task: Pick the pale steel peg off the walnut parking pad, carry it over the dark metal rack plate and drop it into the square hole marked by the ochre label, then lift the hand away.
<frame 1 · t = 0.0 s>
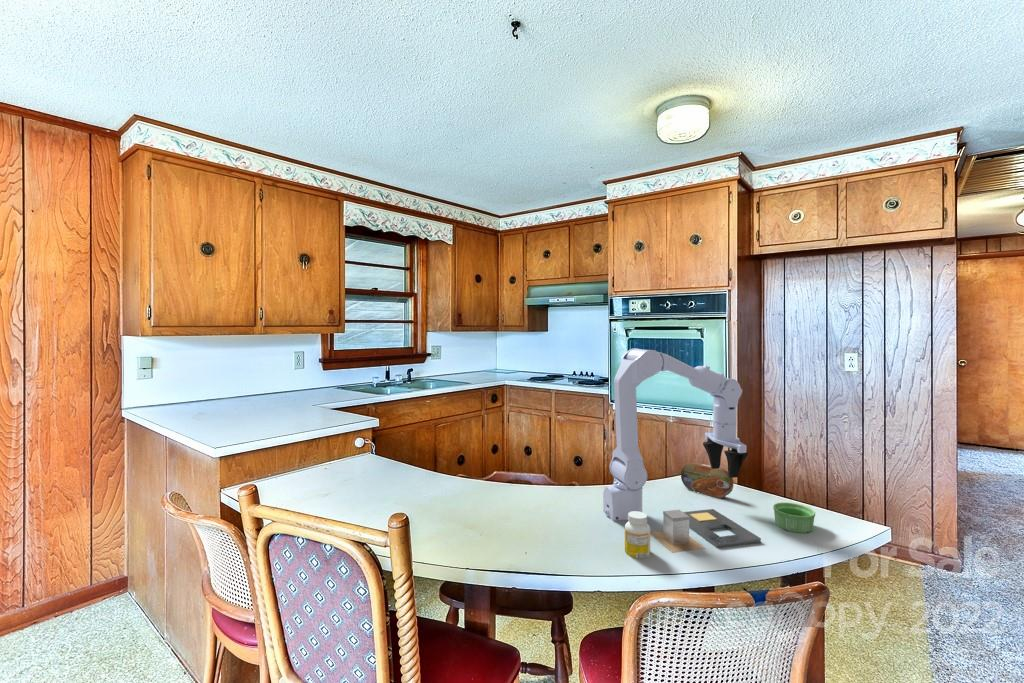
hand: (724, 472, 128), 10 cm above the table, tool pointing down, fingers open, 7 cm apart
rack plate: (714, 535, 113), on the table
steel peg: (676, 539, 107), point 1 cm above the table, touching parking pad
ramekin: (793, 527, 118), on the table
supplement bottle: (637, 559, 102), on the table
tin: (706, 494, 141), on the table
parking pad: (676, 546, 108), on the table
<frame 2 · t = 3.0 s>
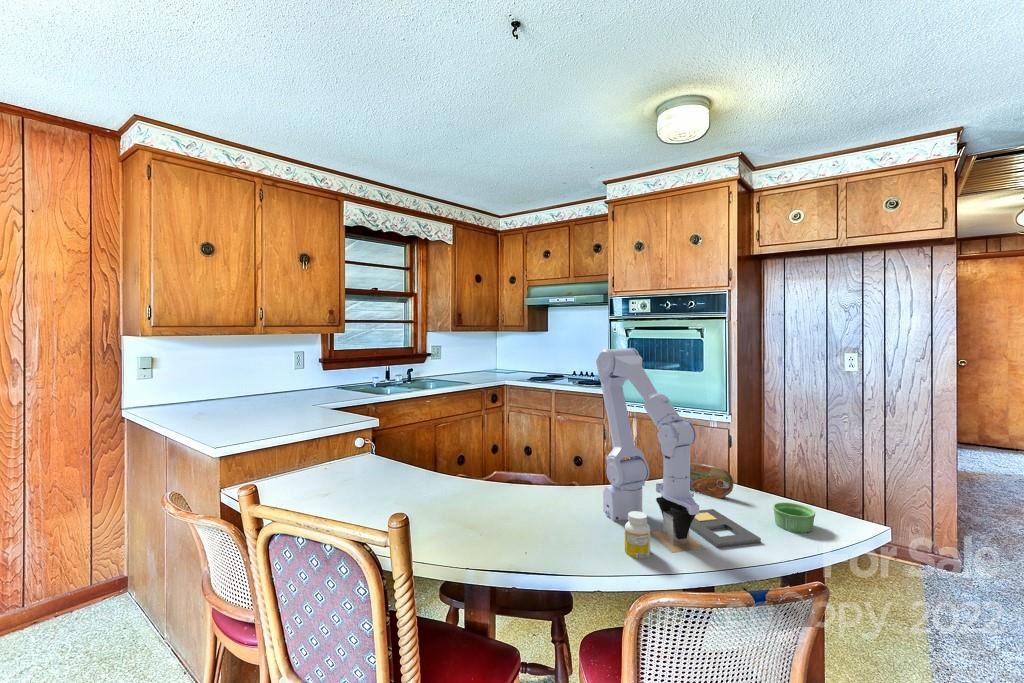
hand: (676, 533, 107), 3 cm above the table, tool pointing down, fingers closed on steel peg, 4 cm apart
steel peg: (676, 539, 107), point 2 cm above the table, touching gripper, parking pad
everything else where it was.
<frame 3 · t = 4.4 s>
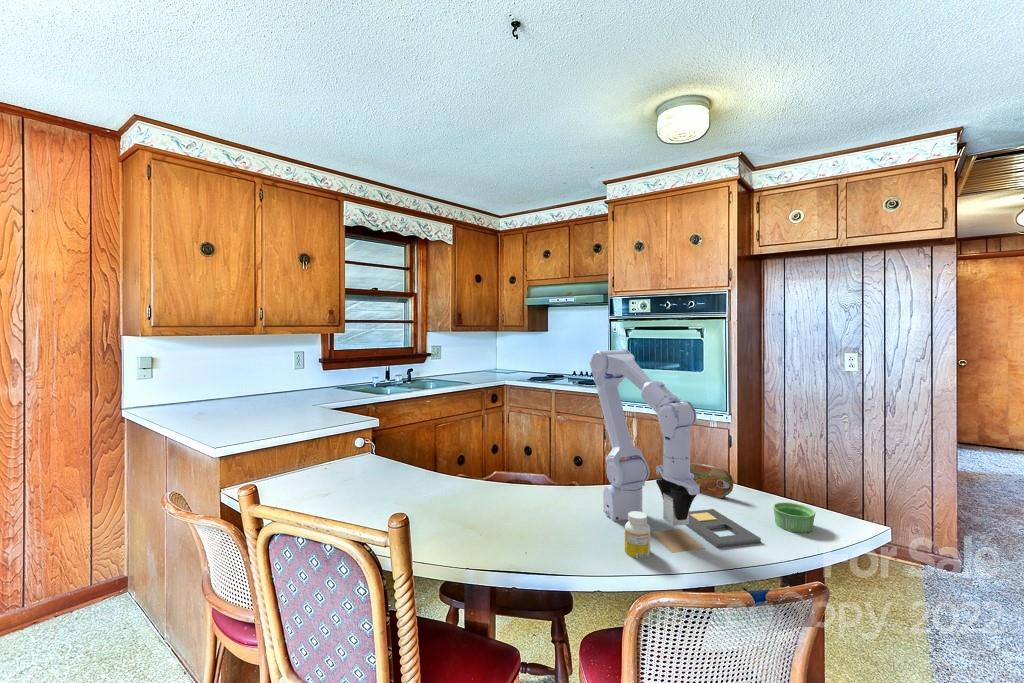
hand: (676, 515, 107), 7 cm above the table, tool pointing down, fingers closed on steel peg, 4 cm apart
steel peg: (676, 521, 107), point 6 cm above the table, touching gripper
everything else where it was.
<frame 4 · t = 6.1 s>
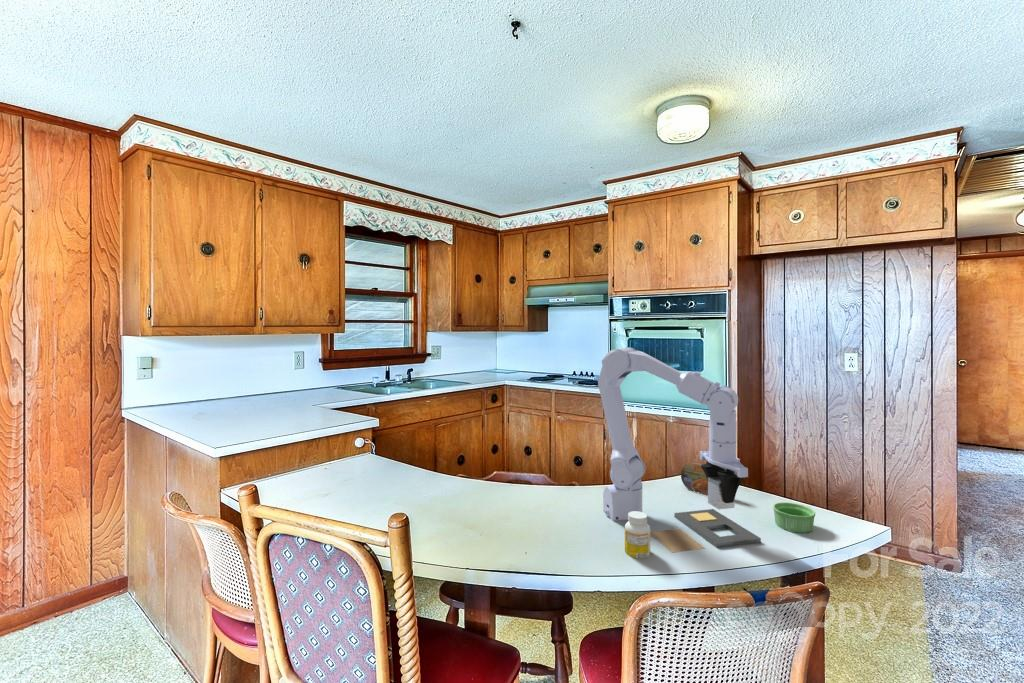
hand: (722, 498, 110), 10 cm above the table, tool pointing down, fingers closed on steel peg, 4 cm apart
steel peg: (721, 505, 110), point 8 cm above the table, touching gripper
everything else where it was.
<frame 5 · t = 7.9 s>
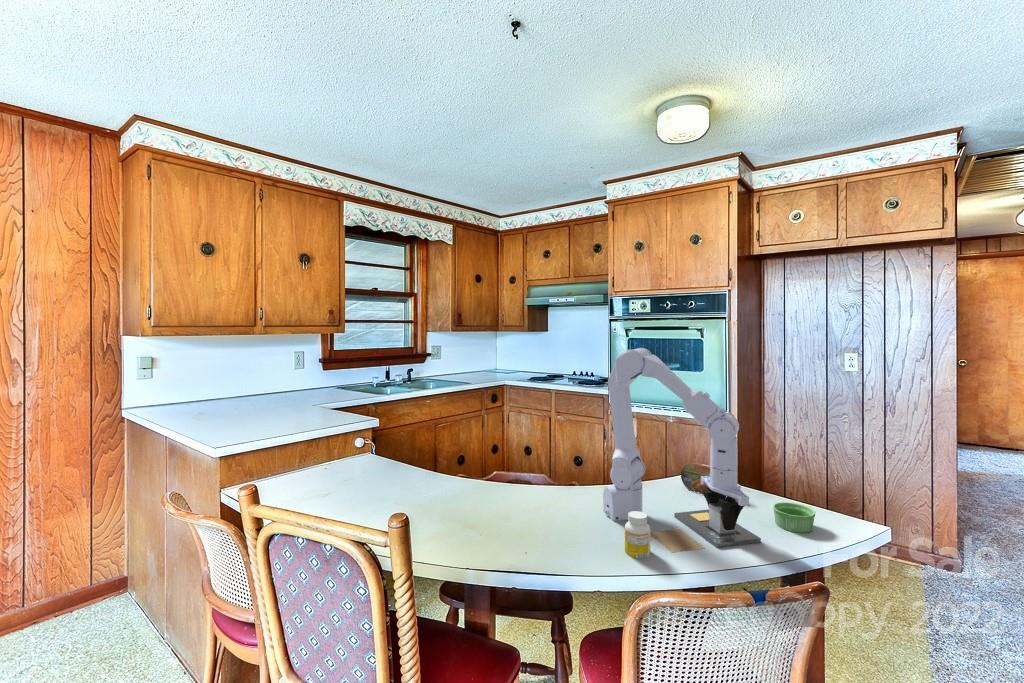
hand: (723, 525, 110), 4 cm above the table, tool pointing down, fingers closed on steel peg, 4 cm apart
steel peg: (722, 531, 110), point 2 cm above the table, touching gripper
everything else where it was.
when the fingers open (3 cm above the table, at t = 9.1 s): steel peg drops 2 cm, resting in rack plate.
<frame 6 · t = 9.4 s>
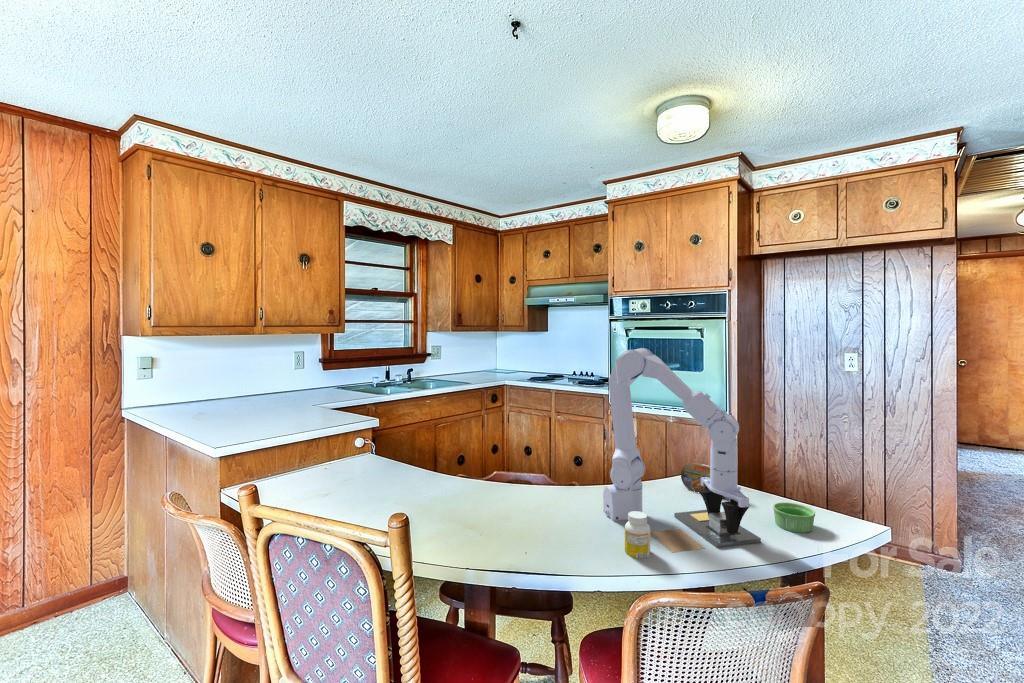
hand: (723, 526, 110), 3 cm above the table, tool pointing down, fingers open, 6 cm apart
steel peg: (721, 541, 110), resting in rack plate
everything else where it was.
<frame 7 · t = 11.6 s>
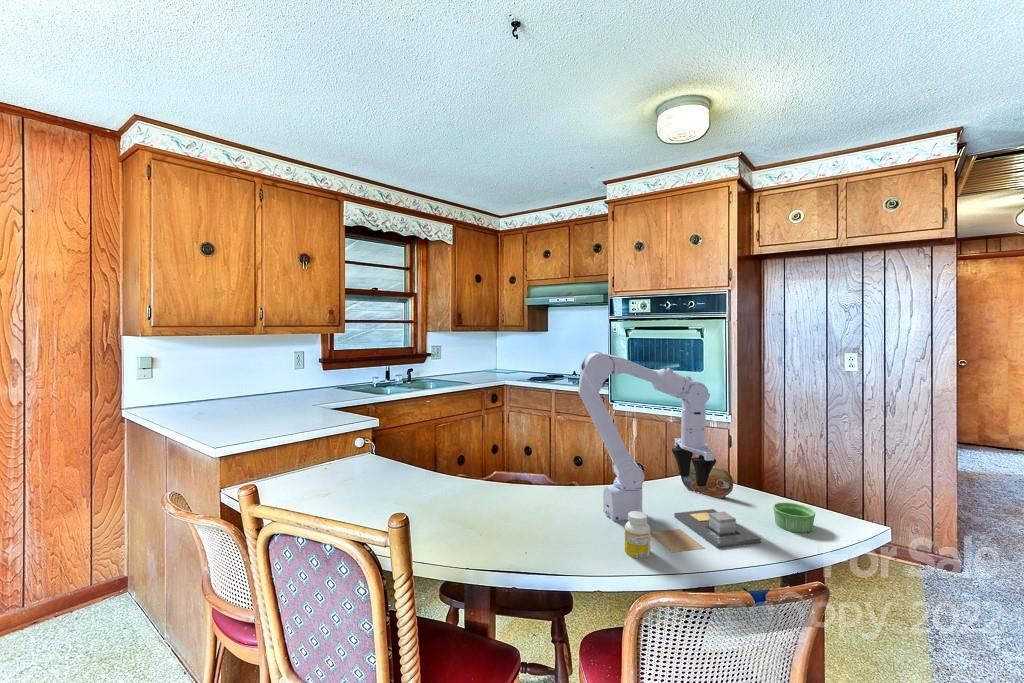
hand: (692, 480, 121), 10 cm above the table, tool pointing down, fingers open, 7 cm apart
nothing on the table moved.
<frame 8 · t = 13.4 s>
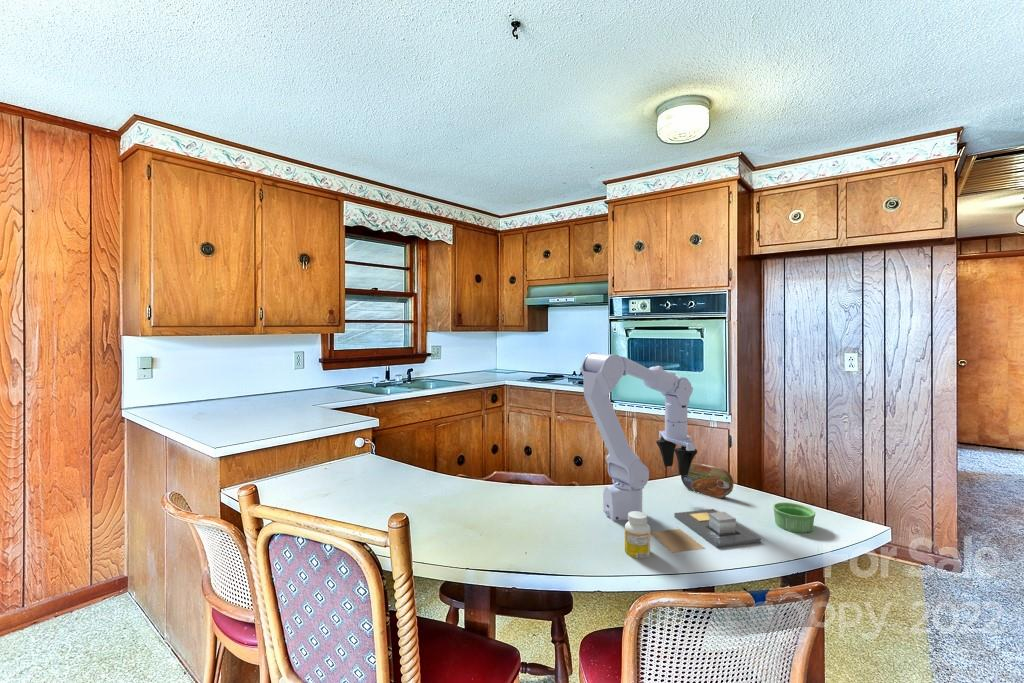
hand: (675, 470, 129), 10 cm above the table, tool pointing down, fingers open, 7 cm apart
nothing on the table moved.
at the end: steel peg 0.3 cm from the target spot on the rack plate, point 0.0 cm above the rack plate's base; steel peg tilted 0°; the gripper is holding nothing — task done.
